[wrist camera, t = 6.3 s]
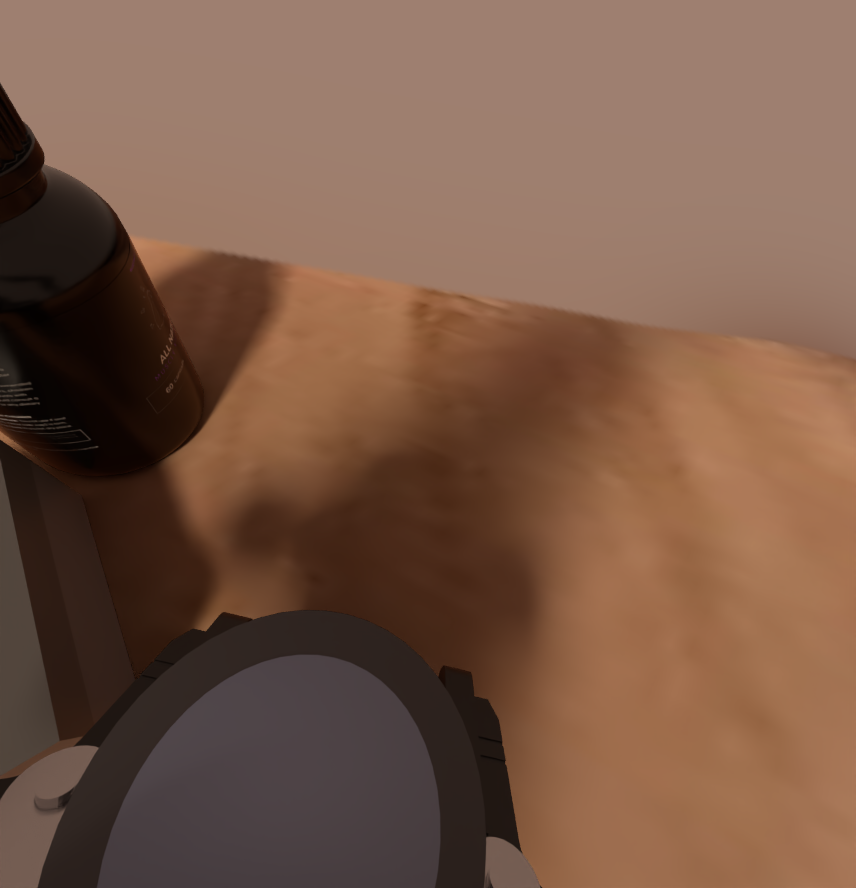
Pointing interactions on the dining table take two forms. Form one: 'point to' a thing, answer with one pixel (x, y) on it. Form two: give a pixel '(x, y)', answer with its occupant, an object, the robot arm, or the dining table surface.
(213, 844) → the lens
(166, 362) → the supplement bottle
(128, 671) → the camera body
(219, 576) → the dining table surface
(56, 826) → the robot arm
